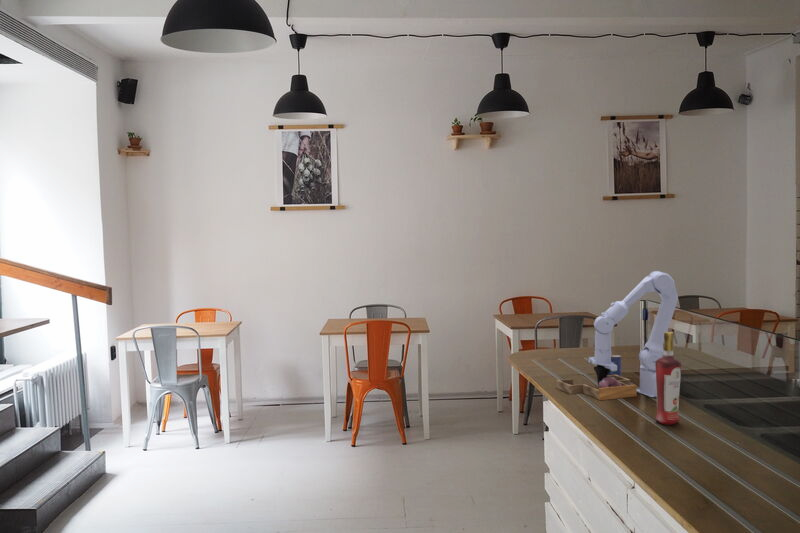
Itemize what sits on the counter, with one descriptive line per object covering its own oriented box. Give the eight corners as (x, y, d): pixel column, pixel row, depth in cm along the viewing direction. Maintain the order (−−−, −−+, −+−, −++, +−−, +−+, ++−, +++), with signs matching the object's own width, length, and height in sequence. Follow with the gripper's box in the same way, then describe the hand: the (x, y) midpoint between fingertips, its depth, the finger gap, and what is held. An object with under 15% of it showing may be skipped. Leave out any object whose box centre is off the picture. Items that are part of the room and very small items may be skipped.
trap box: (649, 394, 225) (649, 383, 225) (586, 401, 217) (586, 390, 217) (615, 382, 244) (615, 371, 243) (556, 388, 236) (556, 377, 236)
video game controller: (615, 394, 231) (608, 376, 233) (626, 391, 228) (618, 372, 230) (602, 400, 224) (594, 381, 226) (613, 397, 221) (605, 377, 223)
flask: (620, 377, 252) (620, 350, 251) (622, 378, 249) (622, 352, 248) (596, 377, 252) (597, 350, 251) (598, 379, 249) (598, 352, 248)
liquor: (667, 417, 198) (668, 330, 197) (685, 424, 192) (687, 333, 190) (649, 420, 196) (650, 331, 194) (667, 427, 189) (668, 335, 187)
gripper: (581, 346, 235) (581, 381, 236) (605, 354, 221) (604, 392, 222) (598, 345, 237) (597, 380, 238) (622, 352, 223) (621, 390, 224)
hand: (602, 386), depth 230 cm, fingers closed, pressing on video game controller
